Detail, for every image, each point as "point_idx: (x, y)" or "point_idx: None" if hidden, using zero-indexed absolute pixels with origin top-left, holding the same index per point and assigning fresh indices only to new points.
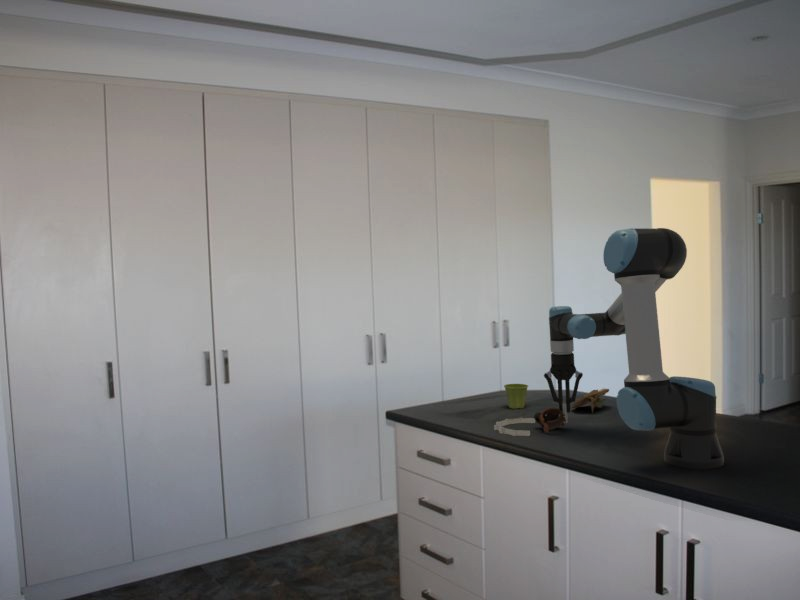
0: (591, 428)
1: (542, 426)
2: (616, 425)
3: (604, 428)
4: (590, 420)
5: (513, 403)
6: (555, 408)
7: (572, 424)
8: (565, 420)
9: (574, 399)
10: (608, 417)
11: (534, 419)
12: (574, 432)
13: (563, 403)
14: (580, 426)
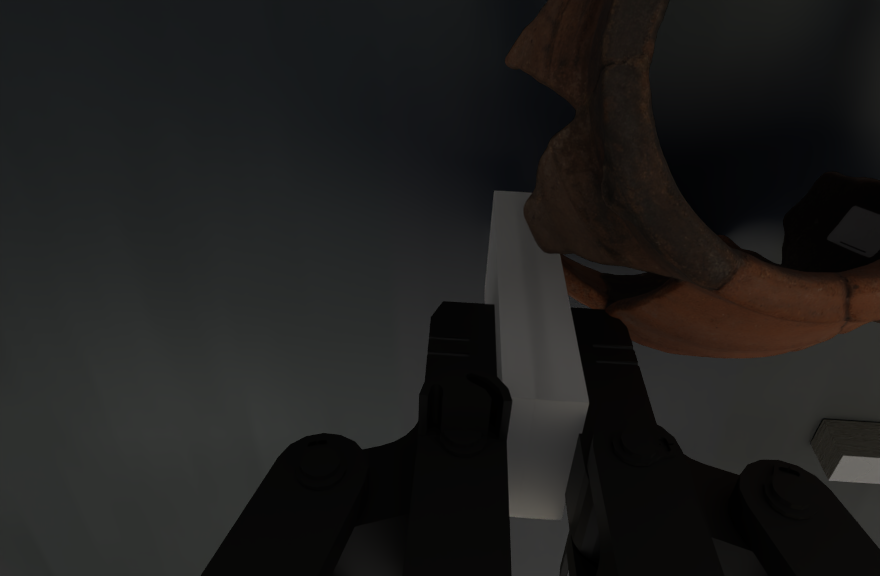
0: (218, 257)
1: (840, 175)
2: (12, 372)
3: (83, 264)
4: None
5: None
6: (746, 282)
7: None
8: (527, 33)
9: (287, 478)
10: (159, 569)
11: (845, 451)
12: (397, 49)
13: (560, 433)
14: (346, 327)
